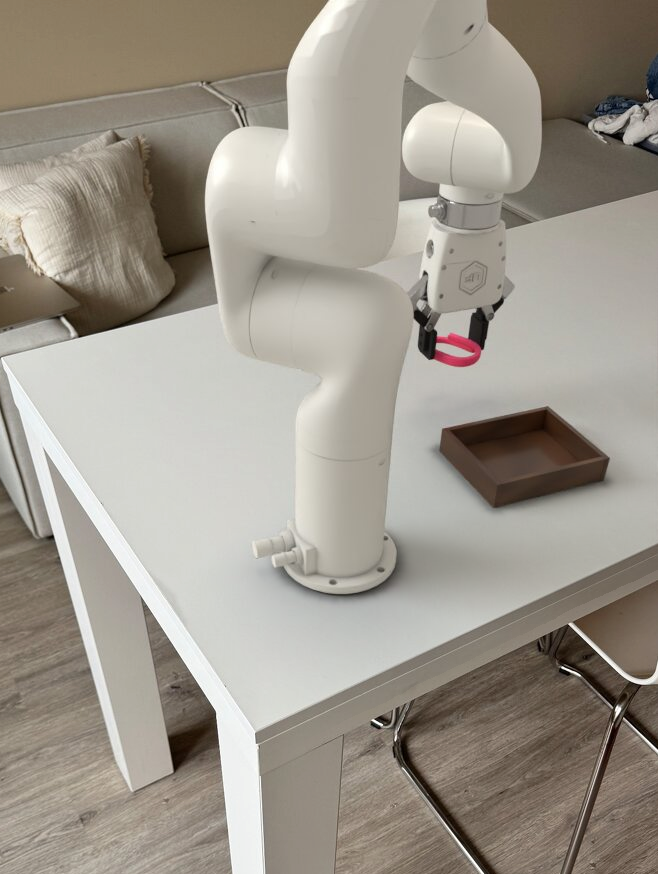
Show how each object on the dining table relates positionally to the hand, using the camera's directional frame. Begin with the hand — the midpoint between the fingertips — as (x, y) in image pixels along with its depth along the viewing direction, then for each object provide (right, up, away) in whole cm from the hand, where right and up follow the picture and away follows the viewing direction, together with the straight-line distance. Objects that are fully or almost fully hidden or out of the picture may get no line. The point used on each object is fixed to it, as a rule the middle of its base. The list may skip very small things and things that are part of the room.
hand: (451, 349), depth 117 cm
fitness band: (0, -1, +1) cm, 1 cm away
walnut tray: (+8, -16, -5) cm, 19 cm away
